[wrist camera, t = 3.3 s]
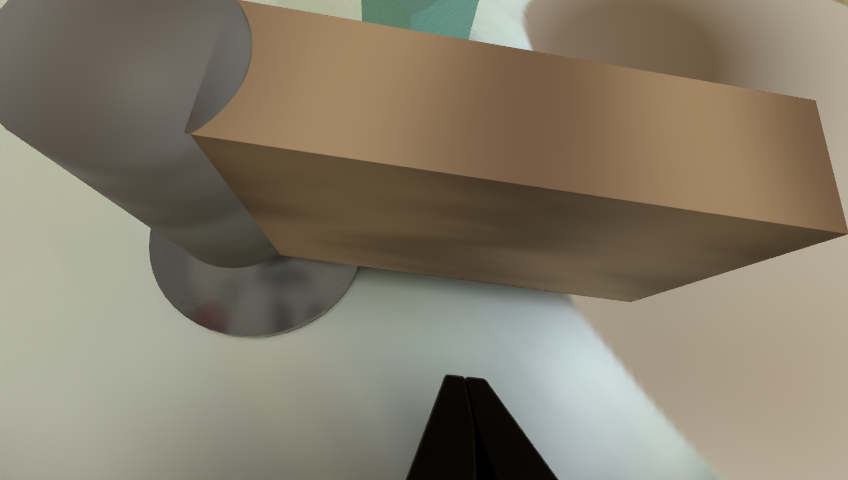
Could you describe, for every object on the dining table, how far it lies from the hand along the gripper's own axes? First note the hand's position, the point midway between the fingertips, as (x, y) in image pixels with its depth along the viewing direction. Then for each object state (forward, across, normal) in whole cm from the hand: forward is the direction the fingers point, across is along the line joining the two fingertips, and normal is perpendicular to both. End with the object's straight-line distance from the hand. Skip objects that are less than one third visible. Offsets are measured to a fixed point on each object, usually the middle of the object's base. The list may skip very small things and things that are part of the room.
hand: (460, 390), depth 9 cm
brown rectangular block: (+7, +1, 0) cm, 7 cm away
